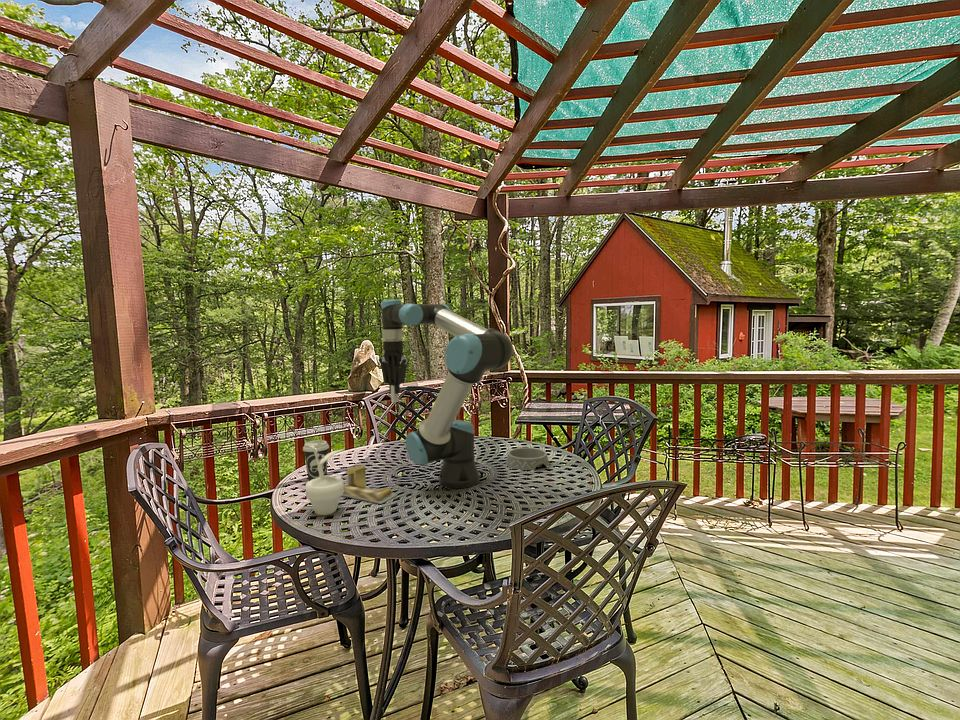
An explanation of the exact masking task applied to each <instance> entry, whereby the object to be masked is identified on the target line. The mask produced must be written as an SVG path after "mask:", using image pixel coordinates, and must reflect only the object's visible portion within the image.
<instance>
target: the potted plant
mask: <svg viewBox="0 0 960 720" xmlns="http://www.w3.org/2000/svg"><path fill="white" fill-rule="evenodd" d="M322 445H323V444H321V443H320V441H319V443H318V445H317V447H319V449H321V446H322ZM309 447H310V448H313V449H314V454H315V457H316V462H317V464H318V468H317V469H318V471H319V476H320V477H319V478H316V479H313V480H310V481H308V480H307V482H306V483H305V498H306V499H308V500H309V502H310V504H311V506H312V509H313V512H314V513H315V514H316V515H318V516H329V515H331V514H334V513H335V512H337V508H338V505H339V501H340V498H341V496H343V492H344V485H345V484H344V479H343V478H342V477H339V476H332V475H331V476H330V475H328V474H327V475H326V476H324V473H323V469H322V465H321V464H323V463H324V462H325V461H327V462H328V461H329V459H330V458H332V457H333V456H335V455H336V454H338V453H340V452H343V451H345V450H346V449H345V448H342V449H336V450H333V451H331V452H328V454H327V455H326V456H324V455H323V456H322V457H323V458H322V459H321V460H320V463H319V462H318V458H319V454H318V455H317V449H316V448H315V447H314V446H309Z"/></svg>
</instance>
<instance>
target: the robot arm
mask: <svg viewBox="0 0 960 720" xmlns="http://www.w3.org/2000/svg"><path fill="white" fill-rule="evenodd" d="M380 311H381V325H382V340H383V342H382V350H383V352H384V353H383V356H382V357H381V358H378V362H379V365H380V366H381V367H380V368H381V371H382V376H383V380H384V383H385V384H387V385H388V386H389V394H390V402H391V403H398V402H399V401H400V398H399V394H400V392H401V389H400V388H401V387H400V385H402V384H404V383H405V379H406V371H407V366H408V364H409V362H410V361H409V360H410V359H409V358H406V357H405V356H404V353H403V351H404V341H403V337H404V335H403V333H404V332H403V326H418V325H433V326H435V327H437V328H439V329H440V330H443V331H444V332H446V333H448V334H450V335H452V336H454V337H453V338H451V340H449V342H448V343H447V346H446V347H445V352H444V355H446V356H445V358H444V361H445V364H446V369H447V372H448V373H447V376H446V378H445V380H444V381H443V384H442V386H441V389H440V390H439V392H438V395H437V397H436V399H435V401H434V403H433V406H432V408H431V409H430V412H429V413H428V417H427V418H426V419H423V420H422V421H421V422H420V423H419V425H418V427H417V430H415V431H410V432H409V433H408V434H407V435H406V437H405V448H406V452H407V455H408V457H409V459H410V460H411V461H412V462H413V464H415V465H419V466H420V465H428V464H431V463H434V462H438V461H441V460H442V461H443V462H442V466H441V469H440V472H439V476H438V483H440V484H439V485H440V486H442V487H444V488H448V489H467V487H468V488H470V487H471V486H472V487H475V486H477V485H478V484H479V483H480V474H479V469H478V467H477V465H476V462H475V431H474V424H473V423H472V422H470V421H468V420H462V419H457V417H458V414H459V412H460V411H461V408H462V406H463V404H464V402H465V401H466V398H467V396H468V395H469V393H470V392H471V389H472V387H473V385H475V384H478V383H480V381H481V380H482V378H483V376H484V374H485V372H486V371H493V370H499V369H502V368H503V367H505V366H507V364H508V363H510V361H511V360H512V357H513V354H514V348H513V347H514V346H513V344H512V341H511V339H510V338H509V337H508V336H507V335H506V334H505V333H504V332H503V333H502V332H501V331H499V330H497V329H495V328H486V327H484V326H481V325H480V324H477V323H476V322H474V321H471V320H470V319H467V318H465V317H464V316H461V315H460V314H457V313H456V312H454V311H452V309H451V308H450V306H449V305H447V304H444V303H442V304H441V303H437V304H436V303H431V304H429V303H427V304H425V303H424V304H422V303H417V304H416V303H404V304H403V302H402V300H401V299H383V300H382V301H381V310H380ZM476 484H477V485H476ZM474 485H475V486H474Z"/></svg>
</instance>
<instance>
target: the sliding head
mask: <svg viewBox="0 0 960 720" xmlns="http://www.w3.org/2000/svg"><path fill="white" fill-rule="evenodd" d="M366 474H367V473H366V466H362V465H358V464H357V465H354V466H352V467H349V468H347V469H346V477H347V478H346V481H347V486H352V487H357V488H362V489H364V488H367V476H366Z"/></svg>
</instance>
